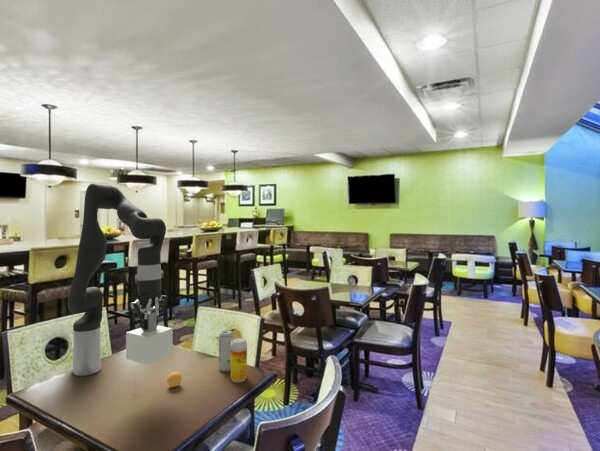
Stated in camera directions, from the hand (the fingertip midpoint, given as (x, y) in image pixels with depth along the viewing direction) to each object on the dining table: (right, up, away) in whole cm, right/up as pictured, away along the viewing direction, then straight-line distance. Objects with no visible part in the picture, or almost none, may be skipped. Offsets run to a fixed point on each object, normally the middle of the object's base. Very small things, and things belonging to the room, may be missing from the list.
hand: (149, 328), depth 116 cm
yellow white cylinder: (+28, -24, +15) cm, 39 cm away
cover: (0, -10, 0) cm, 10 cm away
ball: (+5, -21, +9) cm, 24 cm away
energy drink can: (+21, -24, +24) cm, 39 cm away
